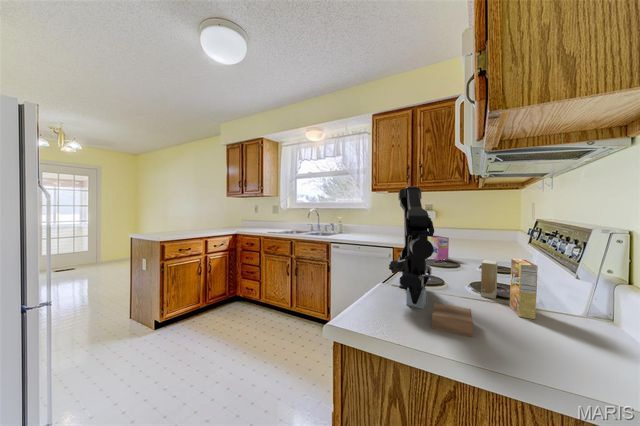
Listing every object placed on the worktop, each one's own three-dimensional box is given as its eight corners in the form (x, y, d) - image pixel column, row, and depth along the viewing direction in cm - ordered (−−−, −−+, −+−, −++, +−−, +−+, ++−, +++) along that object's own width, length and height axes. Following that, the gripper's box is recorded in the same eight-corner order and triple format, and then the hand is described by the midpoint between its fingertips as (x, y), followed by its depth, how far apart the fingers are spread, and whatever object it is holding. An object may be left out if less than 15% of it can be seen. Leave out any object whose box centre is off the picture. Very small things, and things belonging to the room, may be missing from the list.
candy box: (508, 306, 80) (510, 258, 79) (525, 308, 78) (526, 259, 78) (518, 317, 72) (519, 264, 71) (537, 319, 70) (538, 265, 70)
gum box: (412, 253, 171) (412, 233, 170) (422, 253, 173) (422, 233, 173) (438, 260, 148) (438, 238, 147) (449, 260, 150) (449, 237, 150)
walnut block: (434, 316, 72) (434, 302, 72) (470, 323, 68) (470, 309, 68) (431, 329, 65) (432, 314, 64) (472, 338, 60) (472, 322, 60)
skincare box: (482, 291, 93) (483, 259, 93) (496, 294, 90) (497, 260, 90) (480, 296, 88) (481, 262, 88) (495, 299, 85) (496, 263, 85)
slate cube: (410, 300, 84) (410, 285, 84) (425, 303, 81) (426, 288, 81) (406, 305, 80) (406, 289, 80) (423, 308, 77) (423, 292, 77)
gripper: (399, 246, 93) (398, 288, 93) (383, 254, 77) (382, 305, 77) (432, 249, 87) (431, 294, 87) (421, 259, 71) (420, 313, 71)
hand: (416, 301), depth 81 cm, fingers closed on slate cube, 5 cm apart
